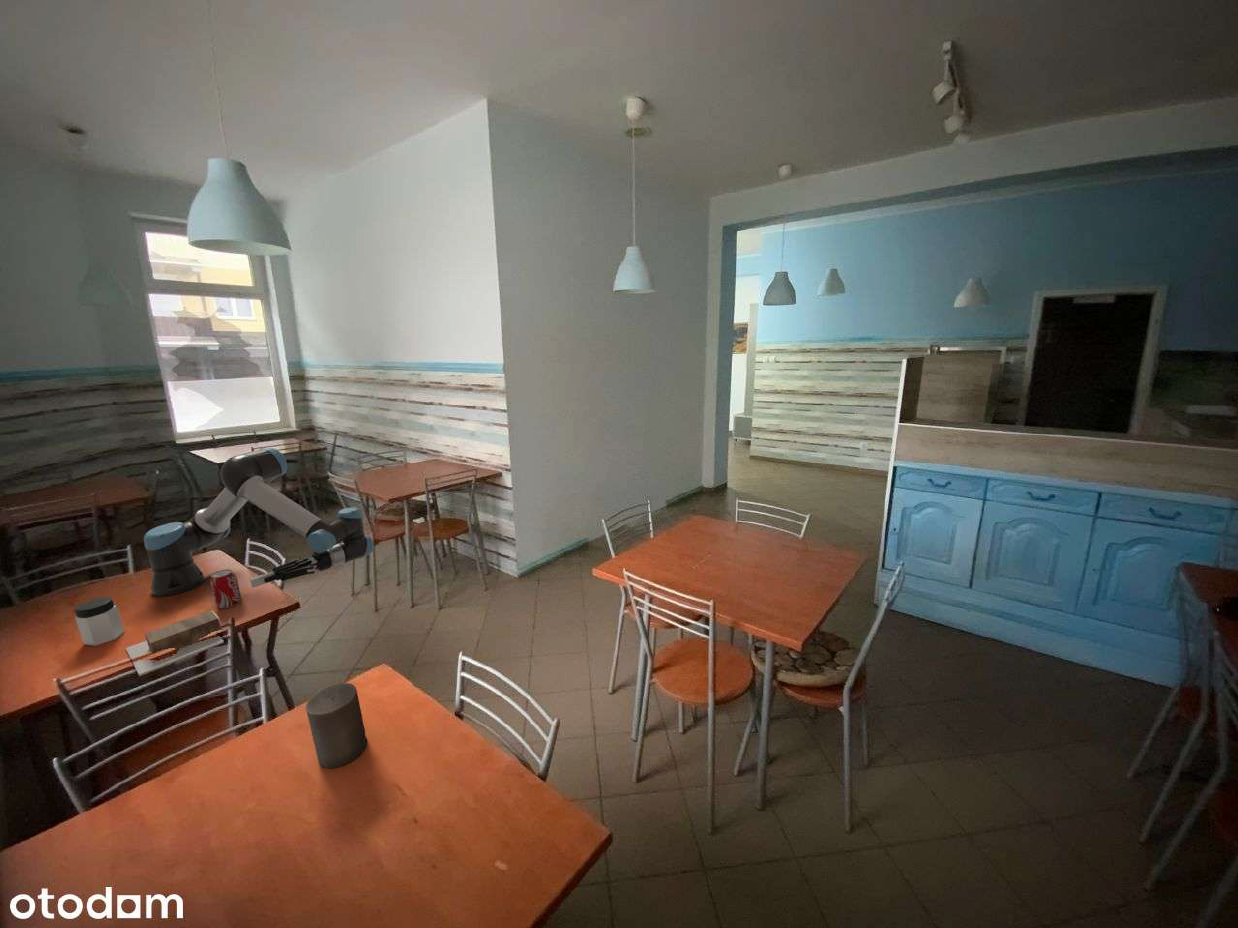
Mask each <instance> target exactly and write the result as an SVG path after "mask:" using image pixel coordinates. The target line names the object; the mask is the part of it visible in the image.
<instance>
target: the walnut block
mask: <svg viewBox="0 0 1238 928" xmlns="http://www.w3.org/2000/svg"><path fill="white" fill-rule="evenodd" d="M221 629H222V630H223V628H222V624H221V619H220V617H219V616H218V615H217V614H216V613H215V612H214V611H213V609H210V610H207V611H205V612H202V613H199V614H197V615H194V616H190V617H188V618H185V619H183V620H180V621H177V622H174V623H170V624H167V625H166V626H162V627H160V628H156V629H154V630H151V631H148V632H145V633H144V635H145V641H147V643H148V646H149V649H150V651H151V652H152V653H153V654H154V653H155V652H157V651H160V650H162V649H168V648H175V649H181V648H183V647H186V646H189V645H190V644H191V643H196V642H197V641H198V640H199V639H200V638H203V637H205V636H207V635H208V634H210V633H211V632H214V631H218V630H221Z"/></svg>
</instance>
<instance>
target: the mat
mask: <svg viewBox="0 0 1238 928" xmlns="http://www.w3.org/2000/svg"><path fill="white" fill-rule="evenodd" d="M224 643H225V642H224V639H222V638H221V636H220V635H219V636H217V637H214V638H210V639H207V640H204V641H200V642H197V643H194V644H192V645H189V646H186V647H183V648H181V649H179V651H177V654H173V656H174V657H168V659H161V660H162V661H156V660H155V661H154V660H141V661H137V662H135V663H133V662H132V664H133V666H134V668H135V670H136V672H137V674H138V676H139V677H141V676H144V675H146V674H149V673H152V672H154V671H156V670H159V669H162V668H165V667H167V666H169V665H172V664H175V663H177V662H180V661H182V660H184V659H187V658H189V657H191V656H195V655H197V654H200V653H202V652H205V651H207V650H209V649H212V648H215V647H218V646H219V645H222V644H224ZM125 650H126V652H127V654H128V657H129V659H131V658H135V657H138V656H142V655H144V654H147V653H148V652H151V651H150V649H149V646H148V643H147V640H145V641H141V642H140V643H136V644H133V645H130V646H128V647H126V648H125ZM153 662H156V663H153Z"/></svg>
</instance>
